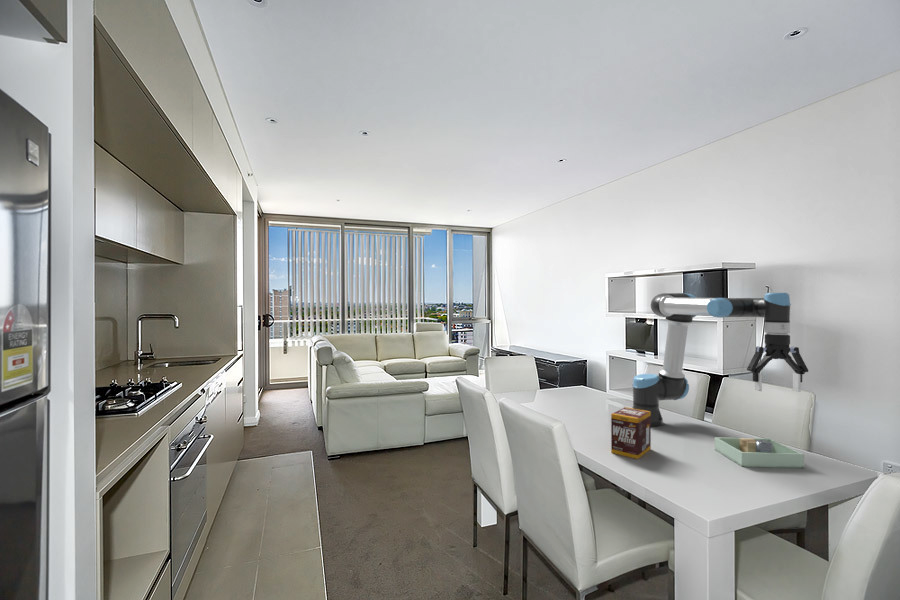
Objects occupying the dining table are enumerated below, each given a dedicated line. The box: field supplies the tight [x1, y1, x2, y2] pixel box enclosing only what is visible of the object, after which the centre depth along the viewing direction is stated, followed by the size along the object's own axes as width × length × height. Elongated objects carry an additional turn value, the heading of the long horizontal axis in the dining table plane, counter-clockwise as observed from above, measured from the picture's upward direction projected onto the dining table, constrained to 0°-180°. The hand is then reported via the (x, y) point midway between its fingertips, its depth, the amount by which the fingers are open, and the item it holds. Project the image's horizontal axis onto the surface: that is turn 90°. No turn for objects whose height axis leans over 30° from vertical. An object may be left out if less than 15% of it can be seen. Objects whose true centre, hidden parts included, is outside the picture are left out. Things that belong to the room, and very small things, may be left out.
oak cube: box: [739, 437, 756, 452], centre depth 164 cm, size 5×5×5 cm
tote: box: [714, 436, 805, 469], centre depth 161 cm, size 17×21×5 cm
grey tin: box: [756, 440, 772, 453], centre depth 156 cm, size 5×5×7 cm
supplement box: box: [610, 407, 652, 460], centre depth 169 cm, size 10×15×16 cm
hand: (777, 390), depth 156 cm, fingers open, 13 cm apart
